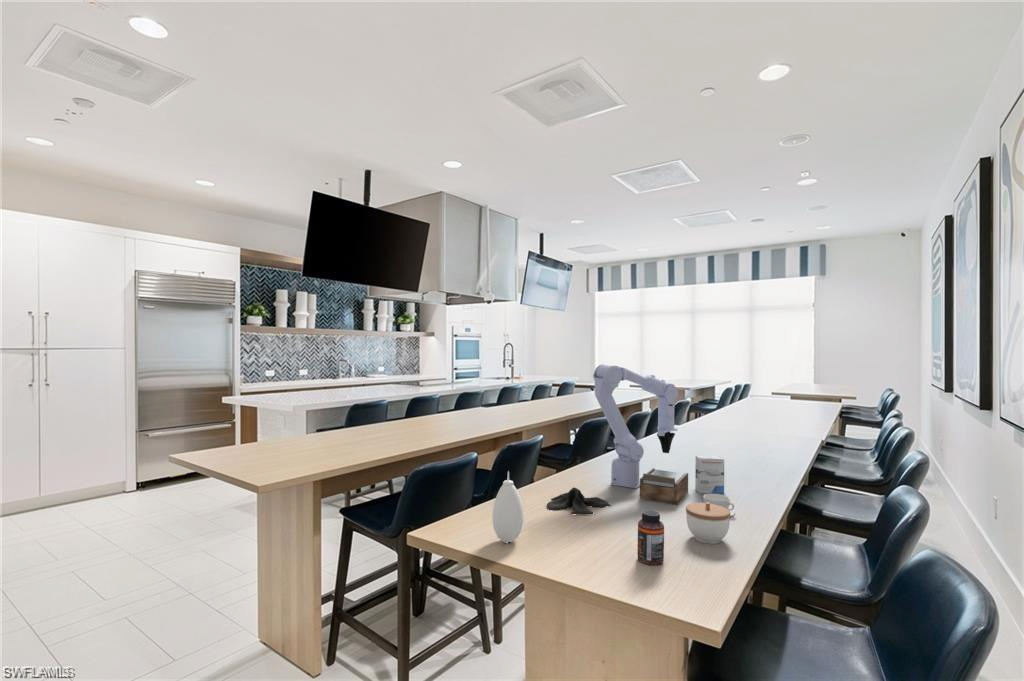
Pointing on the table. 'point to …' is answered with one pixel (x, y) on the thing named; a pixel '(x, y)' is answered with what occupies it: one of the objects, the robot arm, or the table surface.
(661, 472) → the lid
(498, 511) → the air blower bulb
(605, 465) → the table surface
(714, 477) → the ink box
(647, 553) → the supplement bottle
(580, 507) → the cloth
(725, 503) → the teacup
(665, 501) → the walnut box
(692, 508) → the lidded jar
